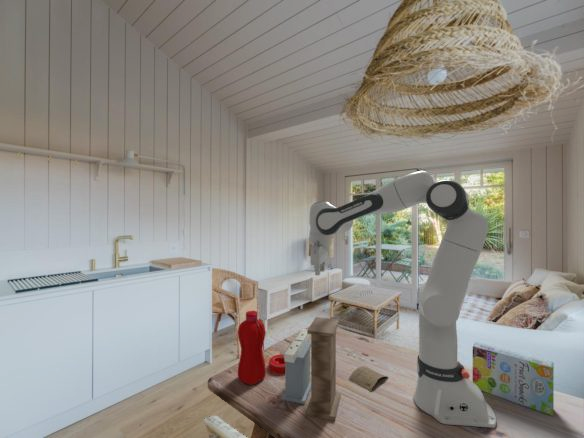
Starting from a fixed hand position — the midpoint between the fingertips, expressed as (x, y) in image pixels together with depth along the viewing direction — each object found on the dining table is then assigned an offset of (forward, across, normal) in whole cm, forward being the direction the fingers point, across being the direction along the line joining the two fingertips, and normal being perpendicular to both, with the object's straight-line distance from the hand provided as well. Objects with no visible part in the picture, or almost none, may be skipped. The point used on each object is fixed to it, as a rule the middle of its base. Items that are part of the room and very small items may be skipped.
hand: (320, 272), depth 119 cm
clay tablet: (+38, -8, -20) cm, 44 cm away
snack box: (+38, -5, -66) cm, 76 cm away
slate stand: (+37, -23, +3) cm, 44 cm away
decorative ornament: (+37, -10, +14) cm, 41 cm away
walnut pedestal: (+37, -28, -7) cm, 47 cm away
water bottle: (+37, -21, +21) cm, 48 cm away
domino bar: (+22, -22, +3) cm, 32 cm away
